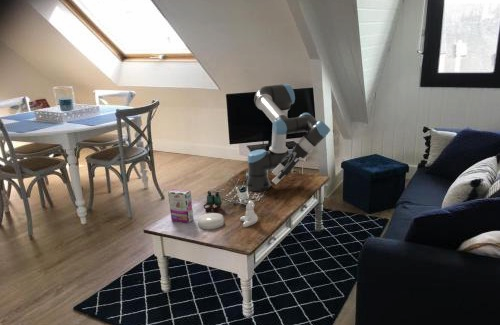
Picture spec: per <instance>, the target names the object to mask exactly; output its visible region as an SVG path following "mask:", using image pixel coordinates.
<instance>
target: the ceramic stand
mask: <svg viewBox="0 0 500 325" xmlns="http://www.w3.org/2000/svg"><path fill="white" fill-rule="evenodd" d="M224 224H225V220H224V215H223V214H222V213H219V212H217V213H214V212H206V213H204V214H202V215H200V216H199V217H198V219H197V227H198V228H200V229H202V230H215V229H218V228H221V227H223V226H224Z"/></svg>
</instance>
